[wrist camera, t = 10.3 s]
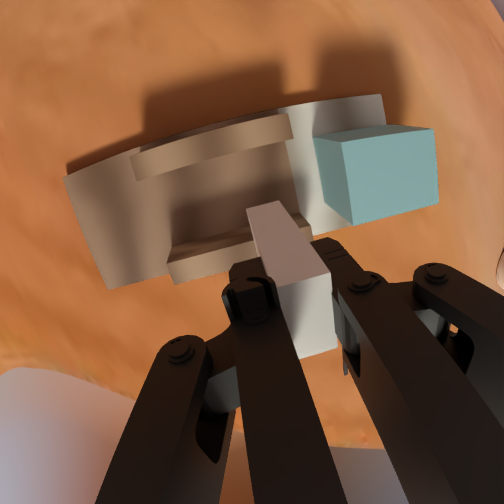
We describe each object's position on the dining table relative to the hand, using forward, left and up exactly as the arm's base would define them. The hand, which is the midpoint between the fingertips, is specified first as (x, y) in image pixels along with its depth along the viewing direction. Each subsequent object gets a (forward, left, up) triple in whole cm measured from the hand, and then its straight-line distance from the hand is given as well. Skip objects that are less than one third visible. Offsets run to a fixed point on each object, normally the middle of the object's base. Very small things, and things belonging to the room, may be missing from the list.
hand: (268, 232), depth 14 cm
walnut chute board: (0, -1, -14) cm, 14 cm away
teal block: (+6, +9, -13) cm, 17 cm away
